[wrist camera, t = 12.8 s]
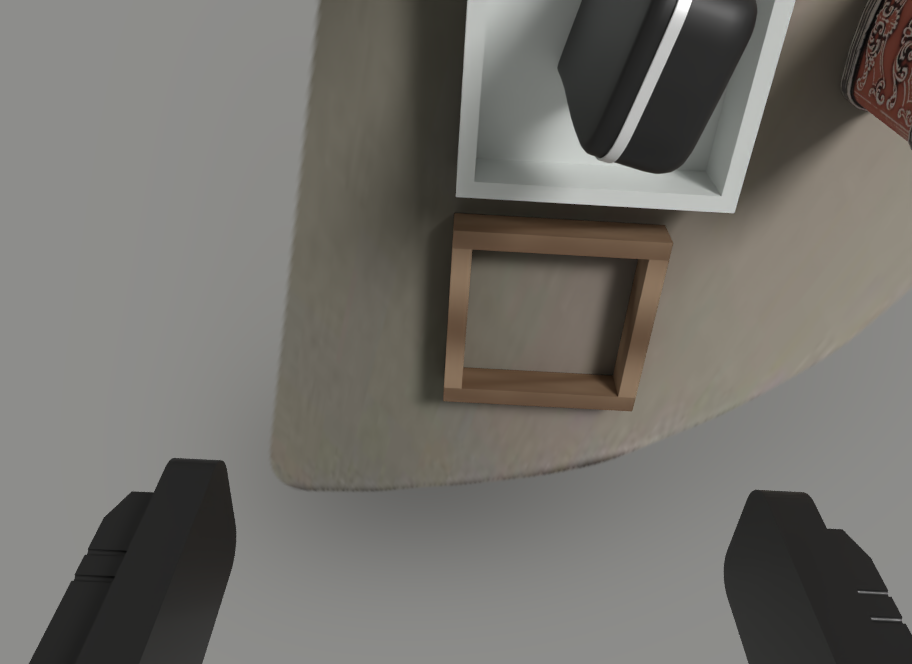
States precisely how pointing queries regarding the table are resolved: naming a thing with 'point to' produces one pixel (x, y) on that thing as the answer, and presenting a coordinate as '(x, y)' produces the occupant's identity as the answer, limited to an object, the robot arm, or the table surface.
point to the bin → (551, 129)
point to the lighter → (882, 65)
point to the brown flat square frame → (560, 239)
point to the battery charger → (650, 75)
